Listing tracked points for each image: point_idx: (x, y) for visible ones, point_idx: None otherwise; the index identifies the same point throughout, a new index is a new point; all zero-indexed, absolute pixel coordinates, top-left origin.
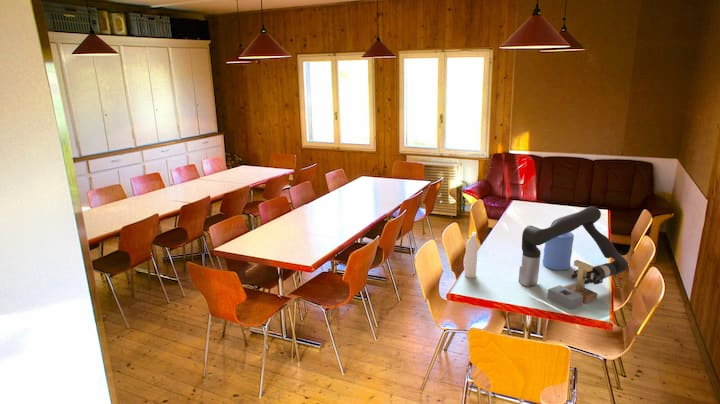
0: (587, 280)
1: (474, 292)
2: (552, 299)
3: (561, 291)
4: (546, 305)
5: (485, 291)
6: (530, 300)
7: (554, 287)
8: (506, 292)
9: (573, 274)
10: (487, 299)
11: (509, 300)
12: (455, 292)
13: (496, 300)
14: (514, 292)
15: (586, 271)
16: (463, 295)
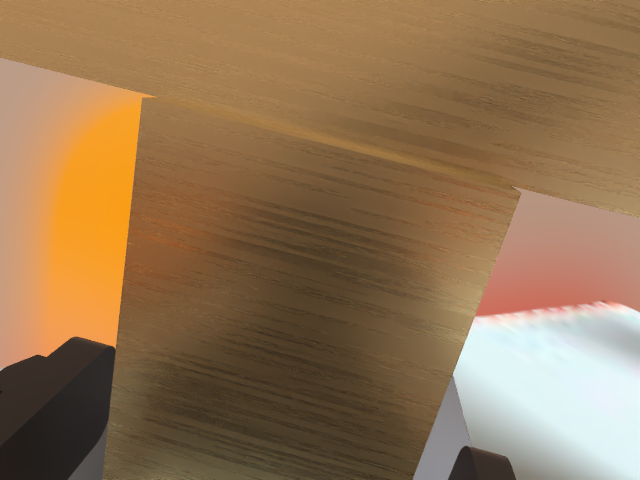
0: (30, 385)
1: (626, 333)
2: None
3: None
4: None
5: (635, 358)
6: (457, 384)
7: (455, 415)
8: (611, 398)
9: (502, 475)
10: (540, 312)
11: (500, 338)
12: (631, 310)
13: (519, 318)
14: (605, 422)
15: (141, 277)
16: (598, 304)
